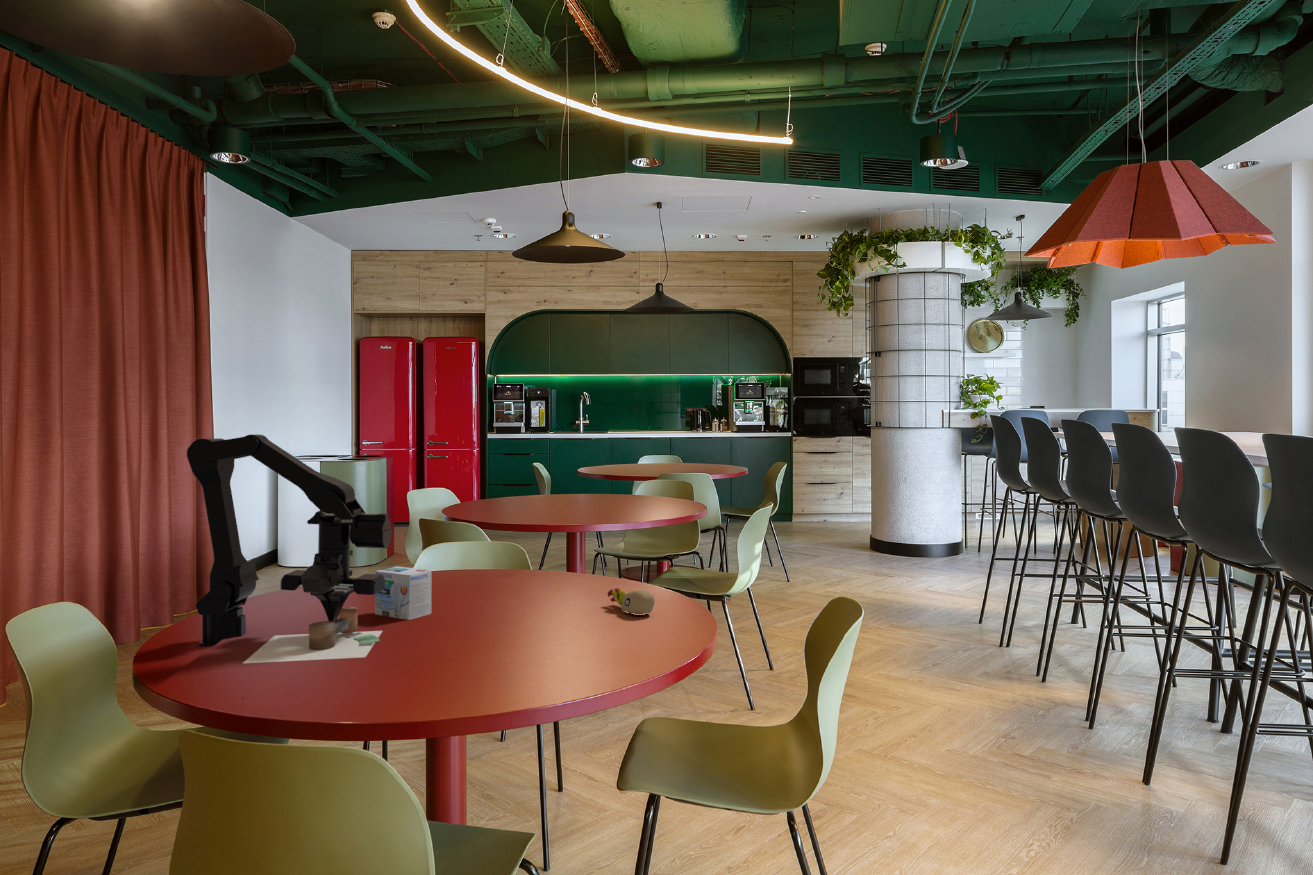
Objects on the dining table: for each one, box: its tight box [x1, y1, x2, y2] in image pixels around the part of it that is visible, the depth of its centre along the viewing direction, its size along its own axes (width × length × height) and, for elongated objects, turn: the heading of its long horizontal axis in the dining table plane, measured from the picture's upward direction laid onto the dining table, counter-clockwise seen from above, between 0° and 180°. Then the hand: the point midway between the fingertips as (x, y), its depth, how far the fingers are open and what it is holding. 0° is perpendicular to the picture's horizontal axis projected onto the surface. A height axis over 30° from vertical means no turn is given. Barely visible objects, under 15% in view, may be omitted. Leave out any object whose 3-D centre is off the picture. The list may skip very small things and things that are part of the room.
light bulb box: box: [374, 566, 433, 621], centre depth 167 cm, size 11×7×11 cm, turn 62°
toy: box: [607, 587, 656, 614], centre depth 174 cm, size 6×7×15 cm
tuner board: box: [242, 630, 383, 664], centre depth 142 cm, size 21×18×1 cm
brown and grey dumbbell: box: [308, 606, 358, 649], centre depth 145 cm, size 13×4×5 cm, turn 172°
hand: (332, 625), depth 151 cm, fingers closed
